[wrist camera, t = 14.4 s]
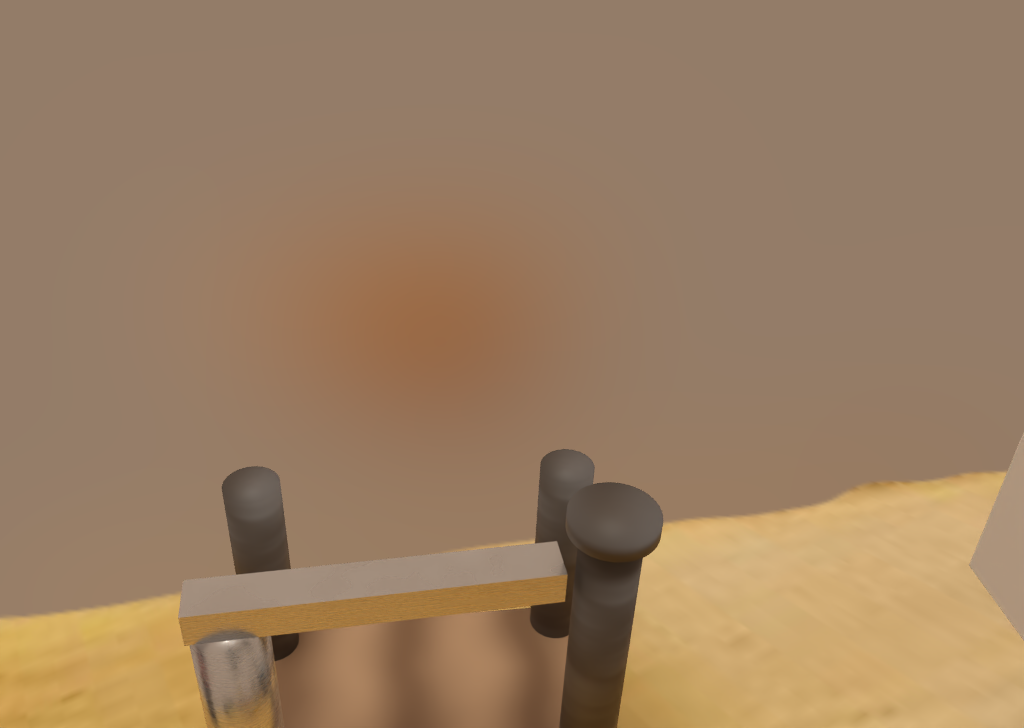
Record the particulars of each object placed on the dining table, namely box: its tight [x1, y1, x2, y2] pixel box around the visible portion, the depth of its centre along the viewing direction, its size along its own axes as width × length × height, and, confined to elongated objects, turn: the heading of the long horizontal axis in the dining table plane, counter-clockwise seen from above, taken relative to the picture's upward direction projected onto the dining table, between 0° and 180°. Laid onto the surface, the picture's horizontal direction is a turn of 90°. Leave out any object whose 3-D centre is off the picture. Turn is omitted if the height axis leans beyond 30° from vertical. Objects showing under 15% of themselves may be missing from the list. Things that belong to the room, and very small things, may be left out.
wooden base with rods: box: [222, 449, 663, 728], centre depth 48 cm, size 20×13×19 cm, turn 98°
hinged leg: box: [178, 541, 568, 728], centre depth 43 cm, size 16×3×13 cm, turn 100°
